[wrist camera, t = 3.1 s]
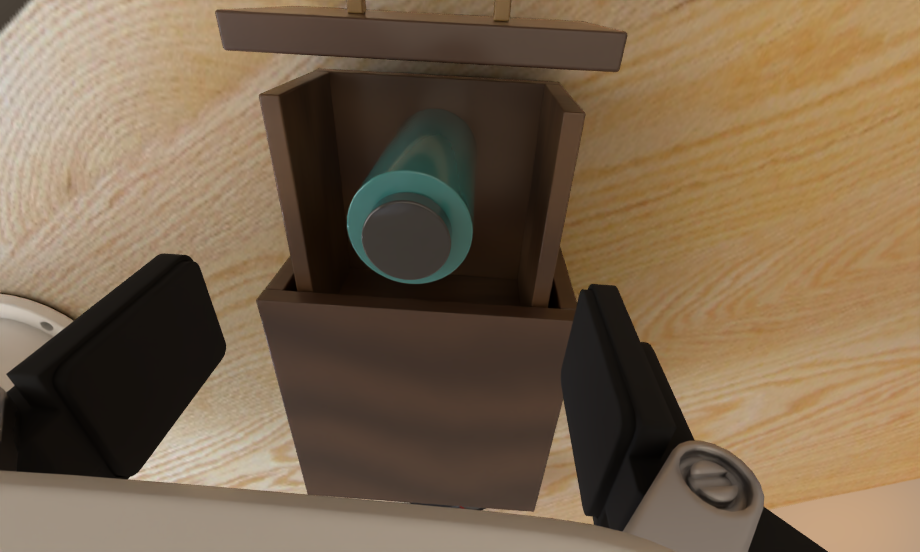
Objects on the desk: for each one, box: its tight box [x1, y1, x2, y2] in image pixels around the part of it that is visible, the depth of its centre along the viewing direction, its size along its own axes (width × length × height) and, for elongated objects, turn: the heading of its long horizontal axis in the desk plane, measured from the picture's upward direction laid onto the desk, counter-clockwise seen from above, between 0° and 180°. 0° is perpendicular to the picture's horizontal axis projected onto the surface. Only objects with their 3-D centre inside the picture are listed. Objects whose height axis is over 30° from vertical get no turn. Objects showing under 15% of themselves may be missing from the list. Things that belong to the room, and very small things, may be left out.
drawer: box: [215, 0, 627, 308], centre depth 20 cm, size 19×14×7 cm
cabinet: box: [256, 247, 577, 512], centre depth 28 cm, size 16×15×9 cm
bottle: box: [347, 109, 477, 284], centre depth 18 cm, size 4×4×10 cm
